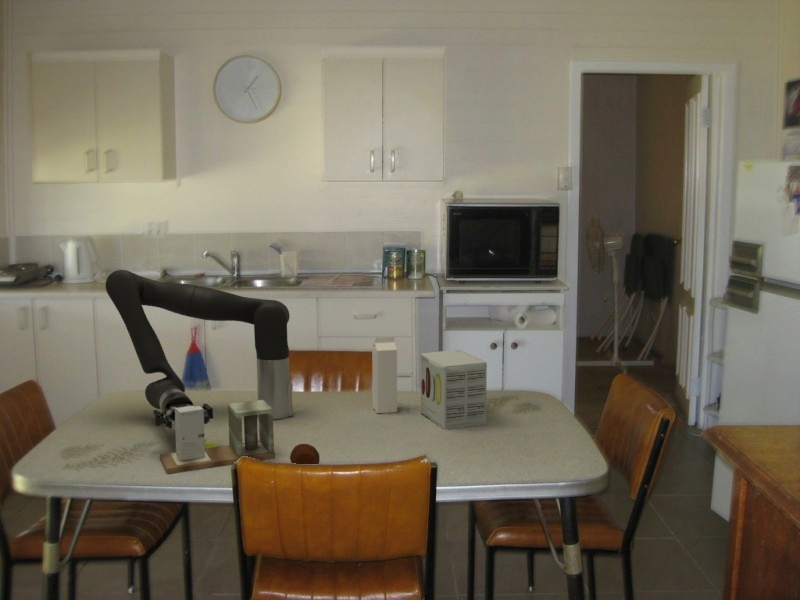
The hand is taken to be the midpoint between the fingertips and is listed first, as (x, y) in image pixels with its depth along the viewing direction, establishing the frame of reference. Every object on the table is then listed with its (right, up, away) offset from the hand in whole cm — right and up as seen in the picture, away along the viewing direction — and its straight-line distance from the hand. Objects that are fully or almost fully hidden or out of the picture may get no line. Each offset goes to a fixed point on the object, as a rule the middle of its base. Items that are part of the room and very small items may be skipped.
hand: (188, 422), depth 202 cm
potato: (+29, -11, -6) cm, 32 cm away
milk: (+47, -3, +42) cm, 63 cm away
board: (+7, -9, +1) cm, 11 cm away
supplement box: (+67, -4, +34) cm, 75 cm away
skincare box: (+1, -8, -2) cm, 8 cm away
